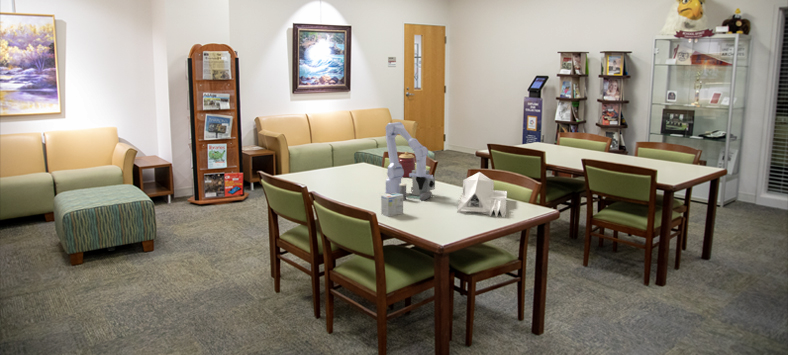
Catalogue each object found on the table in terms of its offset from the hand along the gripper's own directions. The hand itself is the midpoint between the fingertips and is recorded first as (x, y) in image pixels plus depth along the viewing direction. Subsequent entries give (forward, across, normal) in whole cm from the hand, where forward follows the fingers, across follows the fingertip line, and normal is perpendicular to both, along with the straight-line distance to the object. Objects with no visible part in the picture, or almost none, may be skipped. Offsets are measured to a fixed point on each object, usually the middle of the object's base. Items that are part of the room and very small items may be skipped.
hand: (420, 189), depth 344 cm
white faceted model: (+6, +41, -5) cm, 42 cm away
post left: (+5, -8, -8) cm, 13 cm away
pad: (+5, -3, 0) cm, 6 cm away
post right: (+3, +4, -6) cm, 8 cm away
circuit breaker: (+6, -1, +8) cm, 10 cm away
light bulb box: (+6, -1, -41) cm, 41 cm away
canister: (+6, -32, +59) cm, 68 cm away
